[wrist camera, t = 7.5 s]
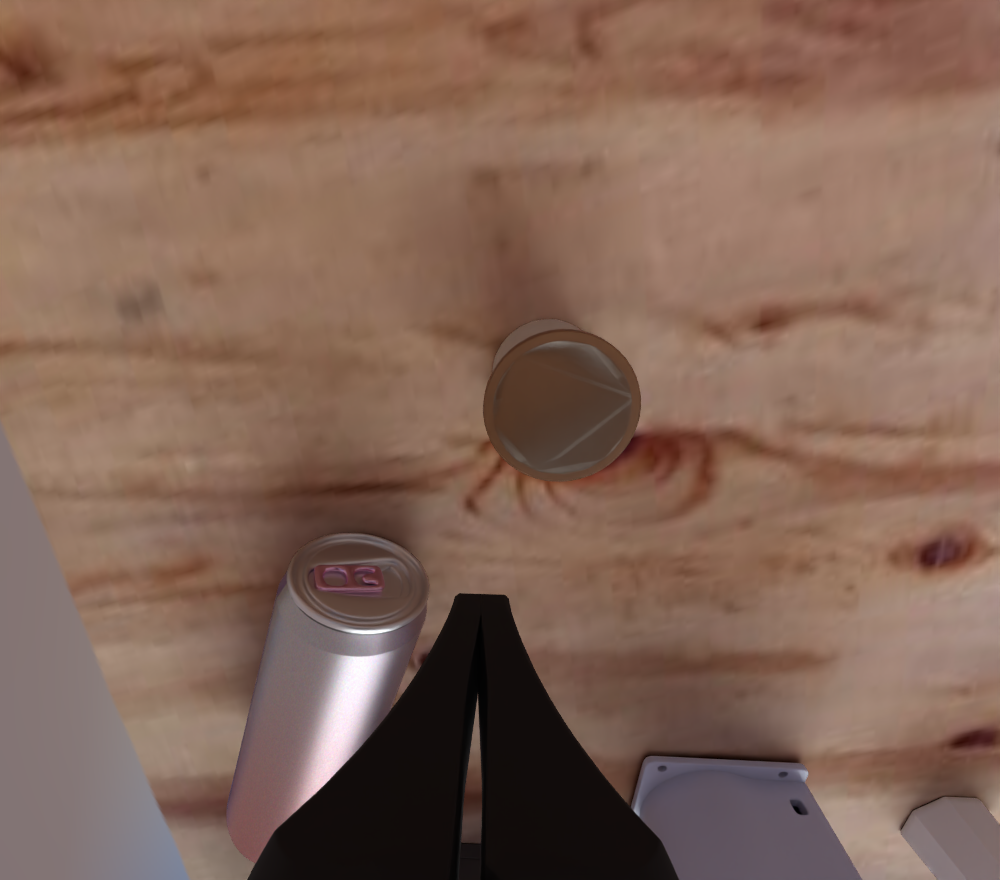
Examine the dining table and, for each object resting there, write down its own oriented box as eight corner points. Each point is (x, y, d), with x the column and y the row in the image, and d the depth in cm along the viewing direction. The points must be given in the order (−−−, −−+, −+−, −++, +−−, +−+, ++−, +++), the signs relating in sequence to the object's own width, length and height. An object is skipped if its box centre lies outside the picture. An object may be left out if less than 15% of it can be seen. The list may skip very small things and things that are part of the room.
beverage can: (230, 755, 24) (281, 525, 19) (345, 736, 27) (415, 532, 22) (217, 896, 20) (282, 638, 15) (358, 855, 23) (452, 628, 18)
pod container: (614, 318, 18) (655, 336, 13) (596, 434, 20) (626, 486, 15) (491, 308, 18) (488, 324, 13) (483, 426, 19) (478, 477, 15)
